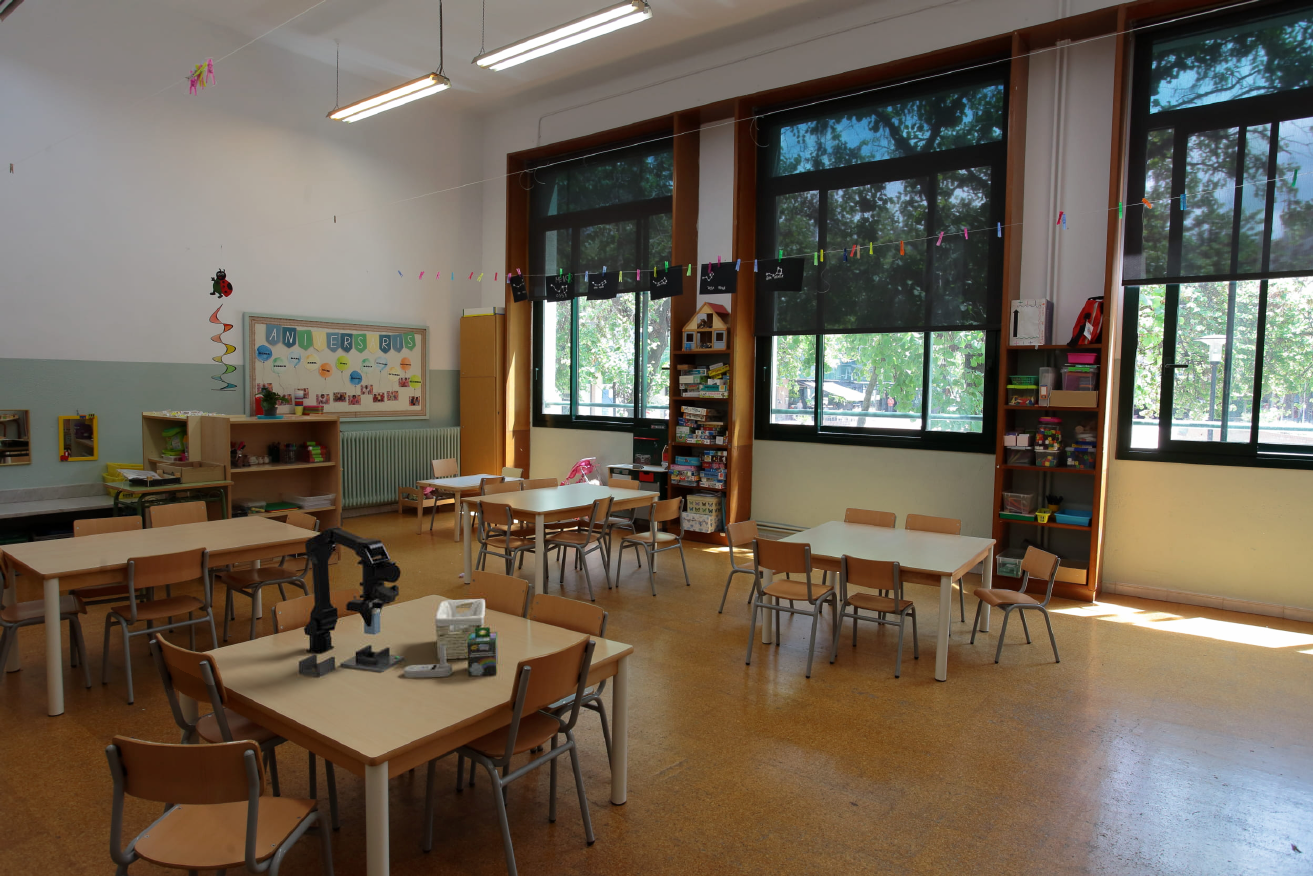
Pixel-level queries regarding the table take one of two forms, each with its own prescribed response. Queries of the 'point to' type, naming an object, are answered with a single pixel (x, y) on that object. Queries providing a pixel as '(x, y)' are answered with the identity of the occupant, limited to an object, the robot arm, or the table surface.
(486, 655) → the chalk box
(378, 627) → the plug
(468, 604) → the storage basket
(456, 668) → the table surface
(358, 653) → the port
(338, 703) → the table surface
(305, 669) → the holster
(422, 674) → the electronic device
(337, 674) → the table surface
